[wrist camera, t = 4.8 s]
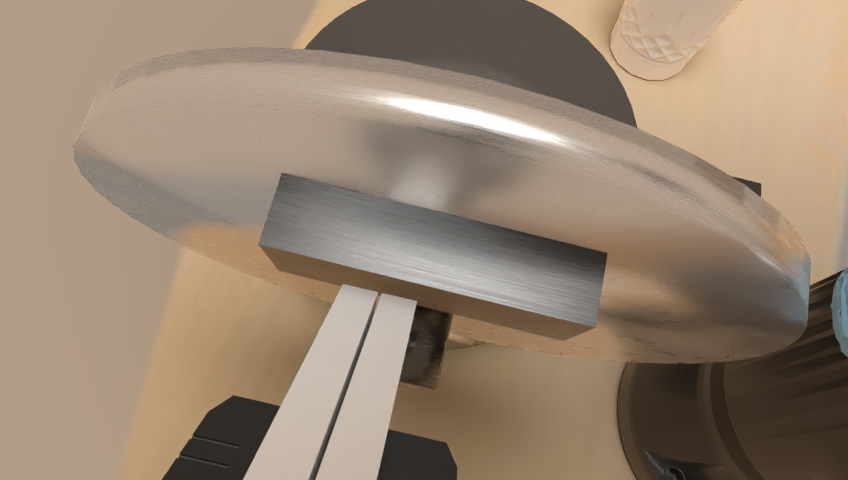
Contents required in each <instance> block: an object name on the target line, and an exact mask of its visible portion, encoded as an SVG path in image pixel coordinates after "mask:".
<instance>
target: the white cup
mask: <svg viewBox="0 0 848 480" xmlns="http://www.w3.org/2000/svg"><path fill="white" fill-rule="evenodd" d="M741 1H742V0H625V1H624V3H623V6H622V9H621V12H620V15H619V17H618V20H617V22H616V24H615V26H614V28H613V30H612V32H611V39H610V49H611V51H612V53H613V55H614V57H615V59H616V61H617V63H618V64H619V65H621V66H622V67H623V68H624V69H625V70H626V71H628V72H629V73H630V74H632V75H635V76H637V77H640V78H643V79H646V80H665V79H668V78H670V77H672V76H674V75H676V74H678V73H679V72H680V71H681V70H682V69H683V67H684V66H685V65H686V64H687V62H688V61H689V60H690V59H691V58H692V56H693V55H694V54H695V53H696V52H697V51H699V50H700V49H701V48H702V47H703V46H704V44H705V43H706V42H707V41H708V40H709V39H710V38H711V37H712V36H713V34H714V33H715V32H716V31H717V30H718V29H719V27H720V26H721V25H722V24H723V22H724V21H725V20H726V19H727V18H728V16H729V15H730V14H731V13H732V12H733V10H734V9H735V8H736V7H737V6H738V4H739V3H740V2H741Z"/></svg>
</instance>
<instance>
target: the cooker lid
mask: <svg viewBox="0 0 848 480" xmlns="http://www.w3.org/2000/svg"><path fill="white" fill-rule="evenodd" d="M73 147H74V160H75V162H76V164H77V166H78V168H79V170H80V172H81V174H82V175H83V176H84V178H85V179H86V180H87V181H88V182H89V183H90V184H91V185H92V187H93V188H94V189H95V190H96V191H98V192H99V193H100V194H101V195H102V196H104V197H105V198H106V199H107V200H108V201H110V202H111V203H112V204H113V205H115V206H116V207H118V208H119V209H121V210H122V211H123V212H125V213H126V214H128V215H129V216H131V217H132V218H134V219H136V220H137V221H139V222H140V223H142V224H144V225H145V226H147V227H149V228H150V229H152V230H154V231H156V232H158V233H160V234H162V235H163V236H165V237H167V238H169V239H171V240H173V241H175V242H177V243H179V244H181V245H183V246H185V247H187V248H189V249H191V250H193V251H195V252H198V253H200V254H202V255H204V256H206V257H209V258H211V259H213V260H215V261H218V262H220V263H222V264H225V265H227V266H229V267H232V268H234V269H237V270H239V271H242V272H244V273H247V274H249V275H252V276H255V277H257V278H260V279H263V280H265V281H268V282H271V283H273V284H276V285H279V286H282V287H285V288H287V289H290V290H293V291H296V292H299V293H302V294H305V295H308V296H311V297H314V298H317V299H320V300H323V301H326V302H330V303H334V301H335V299H336V297H337V295H338V293H339V291H340V289H341V287H342V285H343V284H345V285H350V286H354V287H358V288H363V289H367V290H371V291H376V292H378V295H377V300H376V305H375V310H374V314H375V311H376V308H377V305H378V303H379V300H380V297H381V294H382V293H384V294H389V295H393V296H397V297H402V298H406V299H411V300H415V301H417V304H416V308H415V312H414V317H413V321H412V326H411V330H410V335H409V339H408V343H407V348H406V352H405V357H404V361H403V366H402V370H401V374H400V379H399V383H398V384H402V385H406V386H410V387H415V388H419V389H424V390H429V391H436V389H437V385H438V380H439V376H440V372H441V367H442V363H443V358H444V354H445V350H446V345H447V341H448V339H450V340H454V341H458V342H462V343H466V344H470V345H473V343H474V340H478V341H483V342H488V343H493V344H499V345H504V346H510V347H515V348H521V349H527V350H533V351H540V352H546V353H553V354H560V355H568V356H575V357H584V358H593V359H602V360H613V361H626V362H640V363H662V364H696V363H718V362H727V361H736V360H744V359H749V358H754V357H759V356H764V355H767V354H770V353H773V352H776V351H778V350H781V349H784V348H786V347H787V346H789V345H790V344H792V343H794V342H795V341H797V340H798V339H799V338H800V337H801V335H802V334H803V332H804V331H805V329H806V328H807V318H808V302H809V285H810V258H809V255H808V253H807V251H806V248H805V246H804V244H803V241H802V239H801V237H800V236H799V235H798V234H797V232H796V231H795V230H794V229H793V228H792V226H791V225H790V224H789V223H788V222H787V221H786V219H785V218H784V217H783V216H782V215H781V213H780V212H778V211H777V210H776V209H775V208H773V207H772V206H771V205H770V204H768V203H767V202H766V201H765V200H763V199H762V198H761V197H760V196H758V195H757V194H756V193H755V192H753V191H752V190H751V189H750V188H748V187H747V186H746V185H745V184H743V183H741V182H739V181H738V180H736V179H734V178H733V177H731V176H729V175H728V174H726V173H724V172H723V171H721V170H719V169H718V168H716V167H714V166H713V165H711V164H709V163H708V162H706V161H704V160H703V159H701V158H699V157H698V156H696V155H694V154H692V153H689V152H687V151H685V150H683V149H681V148H679V147H676V146H674V145H672V144H670V143H668V142H666V141H664V140H661V139H659V138H657V137H655V136H653V135H651V134H648V133H646V132H644V131H642V130H640V129H638V128H636V127H633V126H631V125H628V124H625V123H622V122H620V121H617V120H614V119H612V118H609V117H606V116H603V115H601V114H598V113H595V112H592V111H590V110H587V109H584V108H581V107H579V106H576V105H573V104H570V103H568V102H565V101H562V100H559V99H556V98H552V97H549V96H545V95H542V94H538V93H535V92H531V91H528V90H524V89H520V88H517V87H513V86H510V85H506V84H503V83H499V82H496V81H492V80H489V79H485V78H482V77H477V76H473V75H468V74H463V73H458V72H453V71H448V70H443V69H439V68H434V67H429V66H424V65H419V64H414V63H410V62H405V61H400V60H393V59H385V58H378V57H370V56H362V55H354V54H347V53H339V52H331V51H324V50H306V49H285V48H263V47H245V48H226V49H209V50H194V51H189V52H183V53H178V54H173V55H168V56H162V57H157V58H152V59H149V60H147V61H144V62H142V63H139V64H137V65H134V66H132V67H129V68H127V69H124V70H122V71H120V72H119V73H117V74H116V75H115V76H113V77H112V78H111V79H110V80H108V81H107V82H106V83H104V84H103V85H102V86H101V88H100V90H99V92H98V93H97V96H96V97H95V99H94V101H93V103H92V105H91V107H90V110H89V112H88V114H87V116H86V119H85V121H84V123H83V126H82V128H81V130H80V132H79V135H78V137H77V139H76V141H75V144H74V146H73ZM373 317H374V315H373Z"/></svg>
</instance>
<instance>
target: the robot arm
mask: <svg viewBox="0 0 848 480" xmlns="http://www.w3.org/2000/svg"><path fill="white" fill-rule="evenodd" d="M377 295H378V292H376V291H371V290H367V289H363V288H358V287H354V286H350V285H345V284H343V285H342V287H341V289H340V291H339V293H338V295H337V297H336V299H335V301H334V303H333V304H332V306H331V308H330V310H329V312H328V314H327V316H326V318H325V320H324V322H323V324H322V326H321V328H320V330H319V332H318V334H317V336H316V338H315V340H314V342H313V344H312V346H311V348H310V350H309V351H308V353H307V355H306V357H305V359H304V361H303V363H302V365H301V367H300V369H299V371H298V373H297V375H296V377H295V379H294V381H293V383H292V385H291V387H290V389H289V391H288V393H287V395H286V397H285V399H284V400H283V402H282V404H281V406H277V405H272V404H268V403H264V402H260V401H255V400H251V399H247V398H242V397H238V396H234V395H233V396H232V397H230V398H229V399H227V400H226V401H224V402H223V403H221V404H220V405H218V406H216V407H215V408H213V409H212V410H210V411H209V412H208V413H207V414H206V416H205V417H204V419H203V420H202V422H201V423H200V425H199V426H198V428H197V429H196V431H195V432H194V434H193V436H192V439H189V441H188V442H187V444H186V445H185V447H184V448H183V450H182V451H181V453H180V455H179V458H178V459H177V458H176V460H175V461H174V463H173V464H172V466H171V467H170V469H169V470H168V472H167V473H166V474H165V476H164V477H163V479H162V480H457V466H456V464H455V461H454V459H453V457H452V455H451V452H450V450H449V448H448V446H447V443H445V442H440V441H436V440H432V439H428V438H423V437H419V436H415V435H410V434H406V433H402V432H397V431H393V430H389V429H388V428H389V423H390V419H391V414H392V410H393V405H394V401H395V397H396V392H397V388H398V383H399V379H400V374H401V370H402V366H403V361H404V357H405V352H406V348H407V343H408V339H409V335H410V330H411V326H412V321H413V317H414V312H415V308H416V304H417V301H415V300H411V299H406V298H402V297H397V296H393V295H389V294H384V293H382V294H381V297H380V300H379V303H378V305H377V308H376V311H375V314H374V310H375V305H376V300H377ZM373 315H374V317H373ZM618 423H619V430H620V435H621V440H622V444H623V447H624V450H625V453H626V456H627V459H628V461H629V463H630V466H631V468H632V470H633V472H634V474H635V476H636V478H637V479H638V480H848V267H847V268H846V269H844V270H842V271H840V272H838V273H836V274H834V275H832V276H830V277H828V278H825V279H823V280H821V281H819V282H816V283H814V284H812V285H810V286H809V302H808V318H807V328H806V329H805V331H804V332H803V334H802V335H801V337H800V338H799V339H798V340H797V341H795V342H794V343H792V344H790V345H789V346H787V347H786V348H784V349H781V350H778V351H776V352H773V353H770V354H767V355H764V356H759V357H754V358H749V359H744V360H736V361H727V362H718V363H696V364H662V363H640V362H628V363H627V365H626V368H625V370H624V373H623V376H622V379H621V384H620V388H619V395H618Z"/></svg>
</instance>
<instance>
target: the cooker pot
mask: <svg viewBox="0 0 848 480" xmlns="http://www.w3.org/2000/svg"><path fill="white" fill-rule="evenodd" d="M305 49H306V50H324V51H331V52H339V53H347V54H354V55H362V56H370V57H378V58H385V59H393V60H400V61H405V62H410V63H414V64H419V65H424V66H429V67H434V68H439V69H443V70H448V71H453V72H458V73H463V74H468V75H473V76H477V77H482V78H485V79H489V80H492V81H496V82H499V83H503V84H506V85H510V86H513V87H517V88H520V89H524V90H528V91H531V92H535V93H538V94H542V95H545V96H549V97H552V98H556V99H559V100H562V101H565V102H568V103H570V104H573V105H576V106H579V107H581V108H584V109H587V110H590V111H592V112H595V113H598V114H601V115H603V116H606V117H609V118H612V119H614V120H617V121H620V122H622V123H625V124H628V125H631V126H633V127H636V128H637V125H636V121H635V117H634V113H633V110H632V106H631V104H630V101H629V99H628V97H627V94H626V92H625V89H624V87H623V86H622V84H621V82H620V80H619V79H618V77H617V75H616V74H615V72H614V70H613V69H612V68H611V66H610V65H609V64H608V62H607V61H606V60H605V58H604V57H603V56H602V54H601V53H600V52H599V51H598V50H597V49H596V48H595V47H594V46H593V45H592V44H591V43H590V42H589V41H588V40H587V39H586V38H585V37H584V36H583V35H581V34H580V33H579V32H578V31H577V30H576V29H574V28H573V27H572V26H571V25H569V24H568V23H566V22H565V21H563V20H562V19H560V18H559V17H557V16H556V15H554V14H553V13H551V12H549V11H547V10H545V9H543V8H541V7H539V6H537V5H536V4H533V3H531V2H528V1H526V0H367V1H364V2H362V3H360V4H358V5H356V6H354V7H352V8H351V9H349V10H347V11H346V12H344V13H343V14H341V15H340V16H338V17H337V18H335V19H334V20H333V21H332V22H330V23H329V24H328V25H327V26H326V27H324V28H323V29H322V30H321V31H320V32H319V33H318V34H317V35H316V36H315V37H314V38H313V40H312V41H311V42H310V43H309V44H308V45H307V46H306V48H305ZM731 177H732V176H731ZM733 178H734V179H736V180H738V181H739V182H741V183H743V184H745V185H746V186H747V187H748V188H750V189H751V190H752V191H753V192H755V193H756V194H757V195H758V196H760V197H761V184H760V183H756V182H752V181H748V180H744V179H740V178H736V177H733ZM484 343H487V342H483V341H478V340H474V343H473V345H470V344H466V343H462V342H458V341H454V340H450V339H448V341H447V345H446V349H455V348H466V347H470V346H475V345H480V344H484Z"/></svg>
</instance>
